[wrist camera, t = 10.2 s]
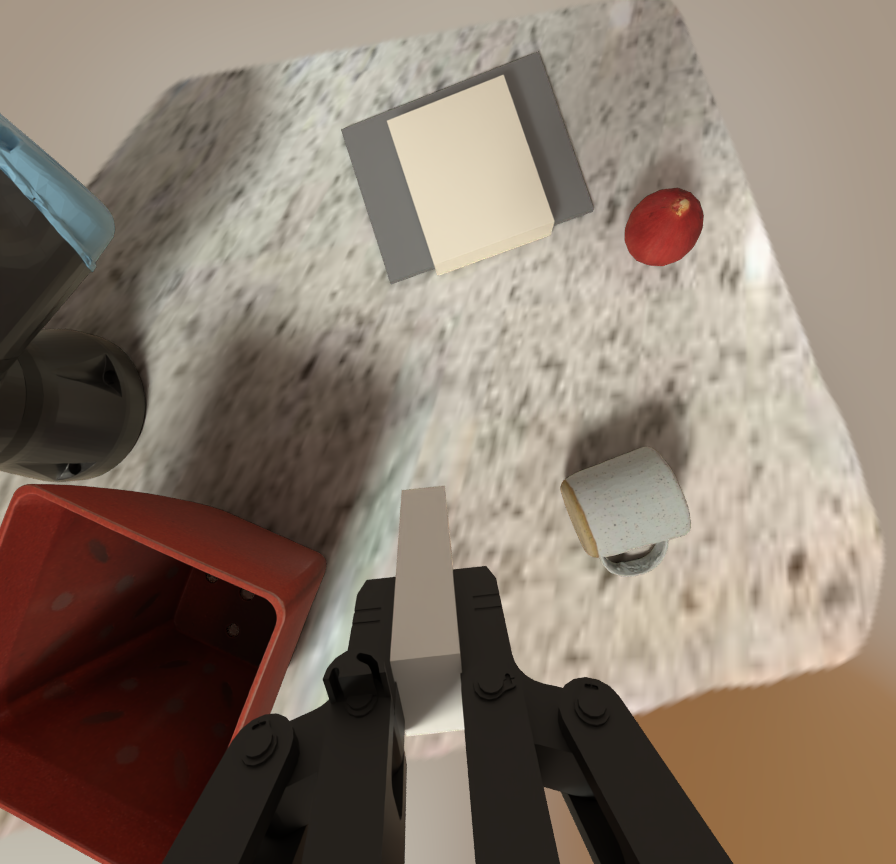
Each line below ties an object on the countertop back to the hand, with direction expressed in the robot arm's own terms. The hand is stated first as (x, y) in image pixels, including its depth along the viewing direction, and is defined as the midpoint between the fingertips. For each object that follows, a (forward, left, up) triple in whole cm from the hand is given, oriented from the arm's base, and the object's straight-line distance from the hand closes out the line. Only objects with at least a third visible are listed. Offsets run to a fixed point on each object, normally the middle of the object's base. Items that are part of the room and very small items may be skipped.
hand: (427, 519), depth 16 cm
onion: (+8, +25, -26) cm, 37 cm away
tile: (-5, +20, -23) cm, 31 cm away
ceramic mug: (+14, +2, -26) cm, 30 cm away
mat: (-11, +27, -25) cm, 39 cm away
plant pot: (-16, -19, -26) cm, 36 cm away
